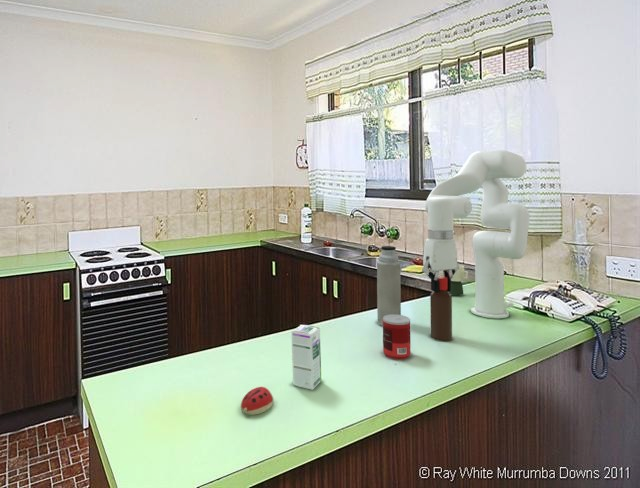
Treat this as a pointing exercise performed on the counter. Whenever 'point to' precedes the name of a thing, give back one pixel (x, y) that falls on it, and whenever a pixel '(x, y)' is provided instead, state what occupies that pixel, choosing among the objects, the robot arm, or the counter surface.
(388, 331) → the canned food
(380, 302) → the thermos bottle
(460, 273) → the character mug
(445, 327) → the bottle
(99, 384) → the counter surface
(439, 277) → the cap
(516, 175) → the robot arm
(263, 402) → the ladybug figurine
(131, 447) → the counter surface
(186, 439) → the counter surface
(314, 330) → the syrup box
